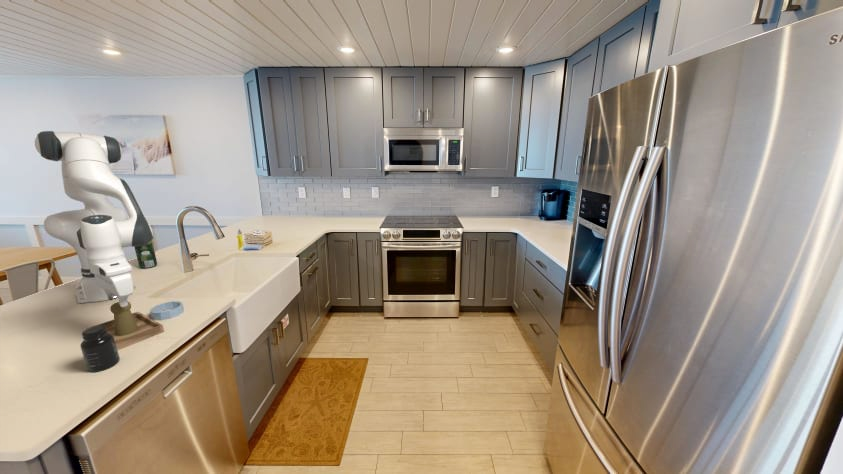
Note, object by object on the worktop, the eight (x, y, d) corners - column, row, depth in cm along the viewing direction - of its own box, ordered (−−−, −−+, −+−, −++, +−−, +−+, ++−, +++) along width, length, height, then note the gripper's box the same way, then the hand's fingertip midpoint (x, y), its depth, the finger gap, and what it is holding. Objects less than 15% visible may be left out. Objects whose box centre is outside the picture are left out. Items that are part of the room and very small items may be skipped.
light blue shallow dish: (147, 316, 120) (145, 309, 120) (176, 305, 129) (175, 299, 128) (159, 322, 116) (157, 315, 115) (188, 311, 124) (187, 304, 123)
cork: (124, 337, 105) (116, 307, 102) (110, 334, 106) (102, 305, 103) (143, 327, 111) (136, 299, 108) (129, 325, 112) (122, 298, 109)
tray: (88, 335, 107) (86, 328, 107) (139, 317, 119) (137, 311, 119) (111, 352, 98) (109, 345, 97) (164, 331, 110) (162, 325, 109)
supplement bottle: (102, 358, 95) (92, 323, 92) (126, 357, 96) (117, 322, 93) (80, 373, 88) (69, 336, 85) (106, 372, 89) (95, 335, 86)
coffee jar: (139, 265, 176) (132, 233, 171) (157, 262, 181) (150, 231, 176) (138, 270, 169) (131, 237, 164) (157, 267, 174) (150, 235, 169)
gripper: (83, 261, 104) (93, 299, 108) (107, 273, 95) (117, 314, 98) (109, 256, 110) (117, 292, 113) (133, 267, 100) (142, 306, 104)
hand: (117, 302), depth 106 cm, fingers open, 8 cm apart
